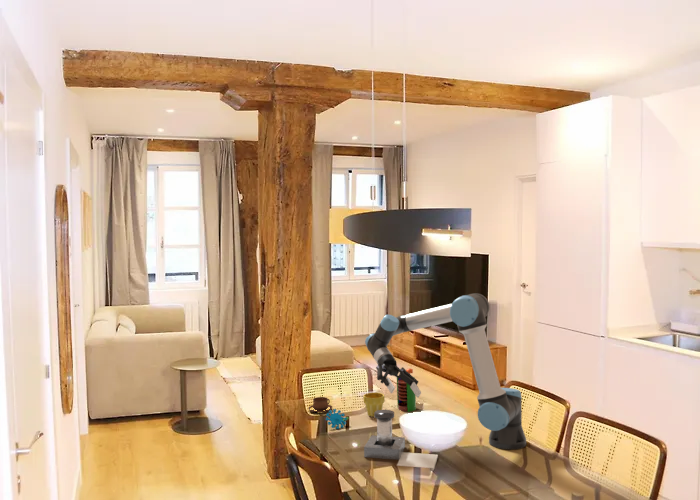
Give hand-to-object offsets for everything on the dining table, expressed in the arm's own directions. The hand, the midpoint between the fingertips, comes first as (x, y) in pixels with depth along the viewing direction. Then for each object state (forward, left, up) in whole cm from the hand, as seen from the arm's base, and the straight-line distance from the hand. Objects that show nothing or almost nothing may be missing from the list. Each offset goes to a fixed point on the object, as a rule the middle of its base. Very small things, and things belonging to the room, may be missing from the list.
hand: (406, 392), depth 248 cm
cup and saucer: (+51, -49, -25) cm, 76 cm away
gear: (+37, -27, -25) cm, 52 cm away
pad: (-6, +10, -24) cm, 27 cm away
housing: (+8, +4, -24) cm, 26 cm away
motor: (+9, -60, -25) cm, 66 cm away
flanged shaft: (+8, +4, -23) cm, 25 cm away
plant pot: (+23, -47, -25) cm, 58 cm away
